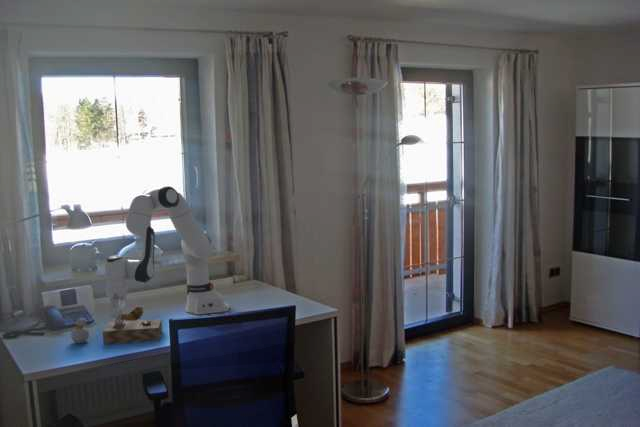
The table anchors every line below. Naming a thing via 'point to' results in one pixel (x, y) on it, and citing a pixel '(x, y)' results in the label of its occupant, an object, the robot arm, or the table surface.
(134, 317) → the lion figurine
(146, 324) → the grey button
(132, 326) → the brown wooden block
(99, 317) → the table surface
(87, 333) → the perfume bottle
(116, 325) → the grey rounded cylinder
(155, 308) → the table surface
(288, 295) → the table surface
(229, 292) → the table surface
